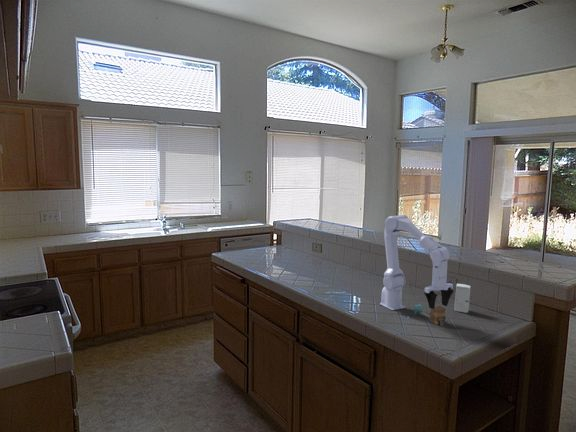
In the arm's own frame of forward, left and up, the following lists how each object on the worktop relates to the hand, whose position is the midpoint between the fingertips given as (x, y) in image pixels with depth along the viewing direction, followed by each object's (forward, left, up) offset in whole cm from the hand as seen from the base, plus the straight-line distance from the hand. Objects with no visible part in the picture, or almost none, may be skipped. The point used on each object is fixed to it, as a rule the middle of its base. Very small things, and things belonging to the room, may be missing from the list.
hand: (438, 306), depth 165 cm
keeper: (0, 0, -7) cm, 7 cm away
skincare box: (-5, +21, -7) cm, 23 cm away
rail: (-4, 0, -7) cm, 8 cm away
